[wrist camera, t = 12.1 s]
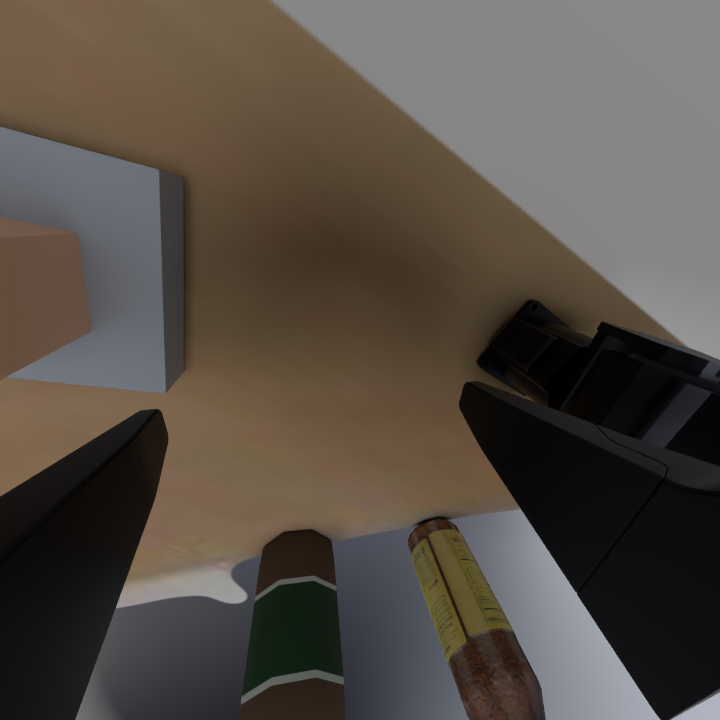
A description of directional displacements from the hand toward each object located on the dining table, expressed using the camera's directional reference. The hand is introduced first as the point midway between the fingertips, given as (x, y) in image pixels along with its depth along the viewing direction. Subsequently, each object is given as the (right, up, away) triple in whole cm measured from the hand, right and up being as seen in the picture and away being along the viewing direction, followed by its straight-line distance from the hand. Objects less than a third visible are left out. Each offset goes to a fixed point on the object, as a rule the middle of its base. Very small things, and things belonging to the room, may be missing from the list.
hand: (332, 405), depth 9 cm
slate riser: (-16, +7, +8) cm, 19 cm away
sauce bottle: (+9, -19, +25) cm, 33 cm away
